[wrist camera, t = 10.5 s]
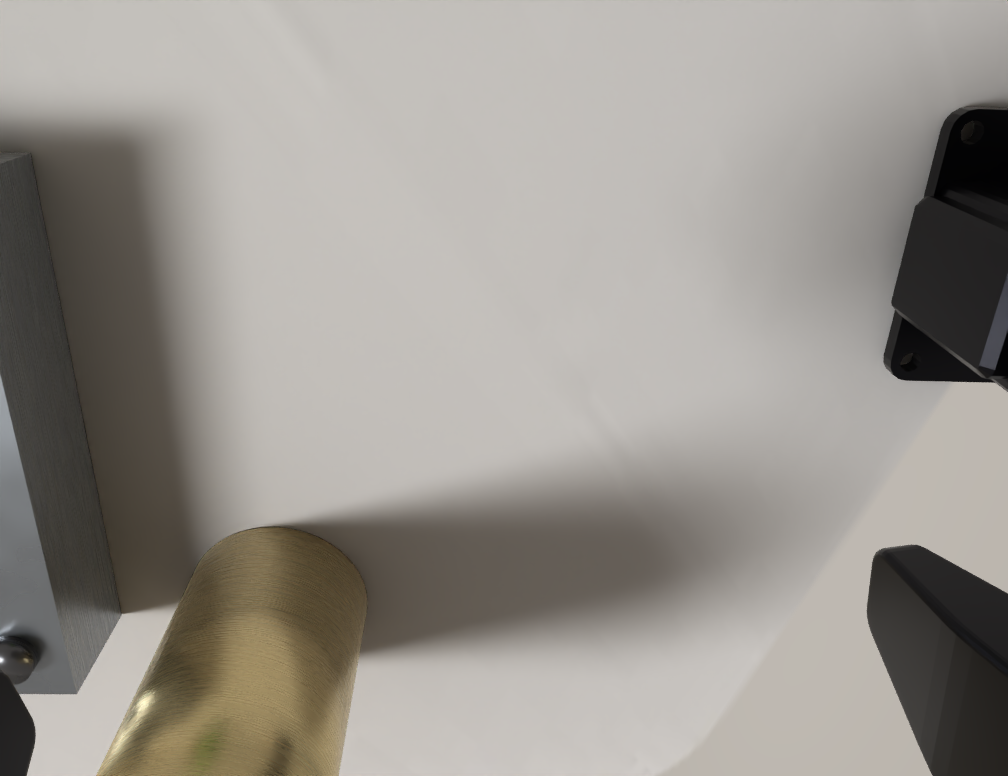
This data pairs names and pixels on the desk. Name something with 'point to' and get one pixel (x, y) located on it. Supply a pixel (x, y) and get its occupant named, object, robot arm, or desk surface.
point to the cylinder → (251, 665)
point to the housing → (44, 469)
